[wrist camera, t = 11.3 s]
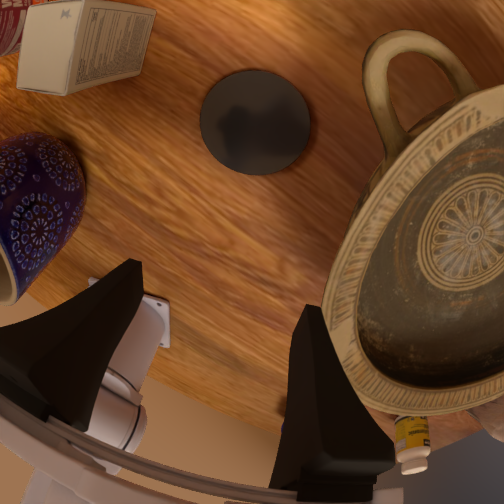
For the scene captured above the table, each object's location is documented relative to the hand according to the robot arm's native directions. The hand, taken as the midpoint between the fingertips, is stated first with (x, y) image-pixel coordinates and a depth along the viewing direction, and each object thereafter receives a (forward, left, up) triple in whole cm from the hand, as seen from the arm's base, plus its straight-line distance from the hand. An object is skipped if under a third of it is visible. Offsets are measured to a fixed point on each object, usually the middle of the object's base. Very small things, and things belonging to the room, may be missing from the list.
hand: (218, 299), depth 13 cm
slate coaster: (-1, +5, -10) cm, 12 cm away
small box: (-11, +10, -11) cm, 18 cm away
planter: (-18, -2, -11) cm, 21 cm away
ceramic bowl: (+16, +3, -11) cm, 19 cm away
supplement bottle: (+31, -29, -11) cm, 44 cm away
